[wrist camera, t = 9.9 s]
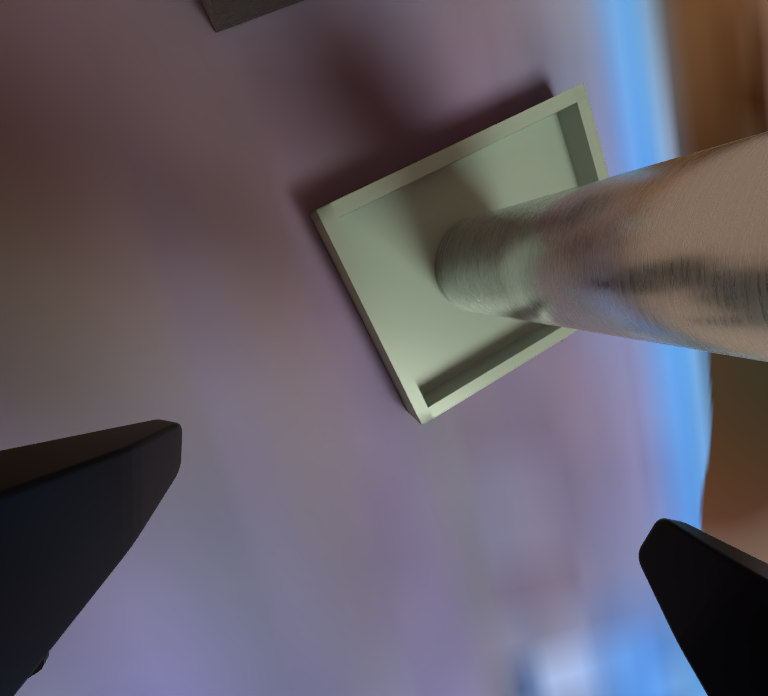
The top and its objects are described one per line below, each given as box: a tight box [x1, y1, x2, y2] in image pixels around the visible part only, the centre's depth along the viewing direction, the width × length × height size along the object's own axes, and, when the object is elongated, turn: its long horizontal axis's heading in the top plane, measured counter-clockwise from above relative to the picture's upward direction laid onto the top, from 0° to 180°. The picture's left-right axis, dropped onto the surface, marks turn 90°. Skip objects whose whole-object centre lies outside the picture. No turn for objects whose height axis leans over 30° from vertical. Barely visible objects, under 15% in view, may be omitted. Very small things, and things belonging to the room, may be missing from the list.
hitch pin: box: [435, 132, 768, 362], centre depth 12 cm, size 6×6×16 cm
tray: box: [311, 83, 609, 425], centre depth 19 cm, size 13×10×2 cm
